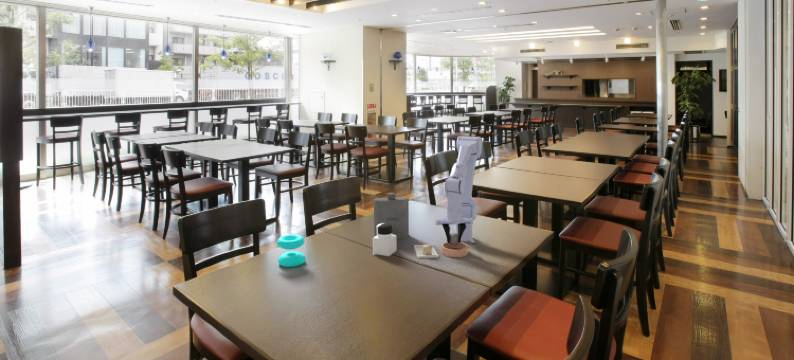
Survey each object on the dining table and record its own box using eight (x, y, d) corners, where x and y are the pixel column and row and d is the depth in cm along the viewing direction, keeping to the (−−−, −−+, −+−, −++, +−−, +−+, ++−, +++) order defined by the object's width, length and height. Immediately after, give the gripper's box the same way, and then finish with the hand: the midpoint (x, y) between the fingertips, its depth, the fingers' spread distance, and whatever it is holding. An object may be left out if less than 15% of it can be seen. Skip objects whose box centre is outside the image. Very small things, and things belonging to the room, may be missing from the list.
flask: (375, 241, 195) (374, 195, 191) (373, 237, 201) (372, 192, 196) (410, 239, 197) (409, 194, 193) (407, 235, 203) (407, 190, 199)
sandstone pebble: (421, 253, 179) (421, 244, 178) (431, 252, 179) (431, 244, 178) (423, 256, 175) (423, 247, 175) (432, 256, 176) (432, 247, 175)
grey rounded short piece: (448, 242, 183) (448, 233, 182) (457, 241, 183) (457, 233, 182) (450, 245, 179) (450, 236, 178) (459, 244, 179) (459, 236, 179)
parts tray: (414, 248, 186) (414, 245, 186) (433, 248, 186) (433, 244, 186) (417, 260, 174) (417, 256, 174) (438, 259, 175) (438, 255, 174)
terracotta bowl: (439, 250, 184) (439, 241, 183) (464, 249, 185) (464, 240, 184) (444, 259, 174) (444, 250, 174) (470, 258, 175) (470, 249, 174)
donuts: (300, 242, 165) (273, 242, 166) (302, 268, 167) (275, 268, 168) (307, 233, 175) (280, 233, 175) (308, 258, 177) (282, 258, 178)
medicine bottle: (396, 252, 183) (396, 222, 180) (389, 258, 176) (388, 228, 174) (380, 249, 186) (380, 220, 183) (372, 255, 179) (371, 225, 177)
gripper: (437, 211, 174) (437, 246, 176) (475, 210, 175) (474, 244, 178) (434, 207, 181) (434, 240, 183) (470, 205, 182) (469, 238, 184)
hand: (453, 242), depth 181 cm, fingers closed on grey rounded short piece, 4 cm apart
